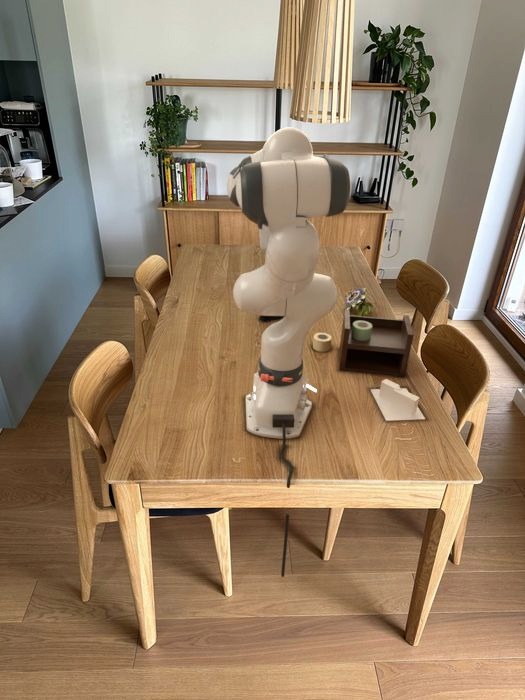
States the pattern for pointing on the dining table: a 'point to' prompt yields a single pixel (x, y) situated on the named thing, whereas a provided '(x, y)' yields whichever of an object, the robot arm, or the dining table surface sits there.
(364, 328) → the sage tape roll
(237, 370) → the dining table surface
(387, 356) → the shelf
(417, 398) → the napkin holder
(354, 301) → the passion flower
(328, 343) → the cream tape roll
